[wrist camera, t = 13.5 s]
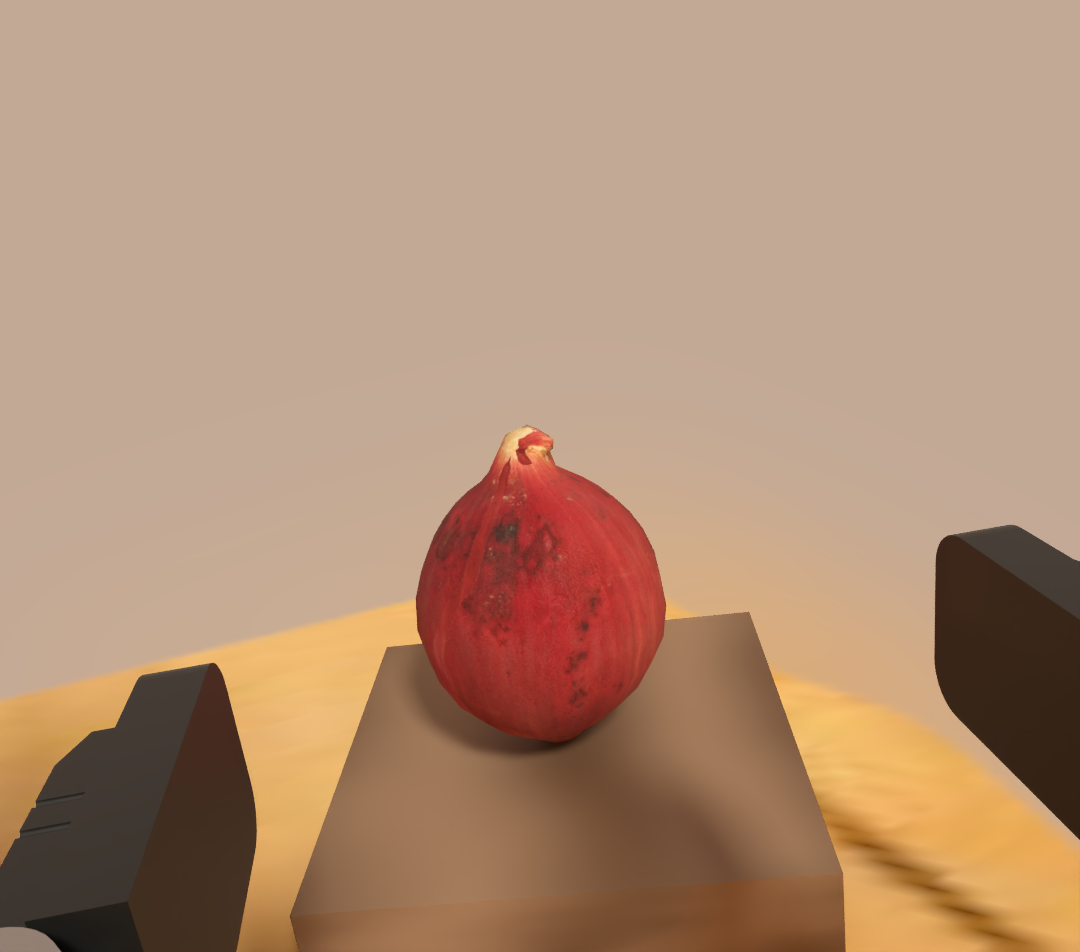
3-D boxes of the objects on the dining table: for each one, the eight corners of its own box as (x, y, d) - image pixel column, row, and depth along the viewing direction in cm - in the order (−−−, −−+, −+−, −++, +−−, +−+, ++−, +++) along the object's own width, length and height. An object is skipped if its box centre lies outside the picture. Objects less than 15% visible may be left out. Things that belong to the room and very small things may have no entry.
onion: (639, 833, 21) (597, 480, 18) (402, 797, 23) (335, 477, 21) (700, 686, 26) (674, 392, 23) (501, 668, 28) (457, 397, 26)
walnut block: (337, 1098, 22) (289, 916, 20) (414, 783, 32) (386, 646, 30) (849, 1065, 21) (842, 873, 19) (758, 754, 31) (749, 611, 30)
